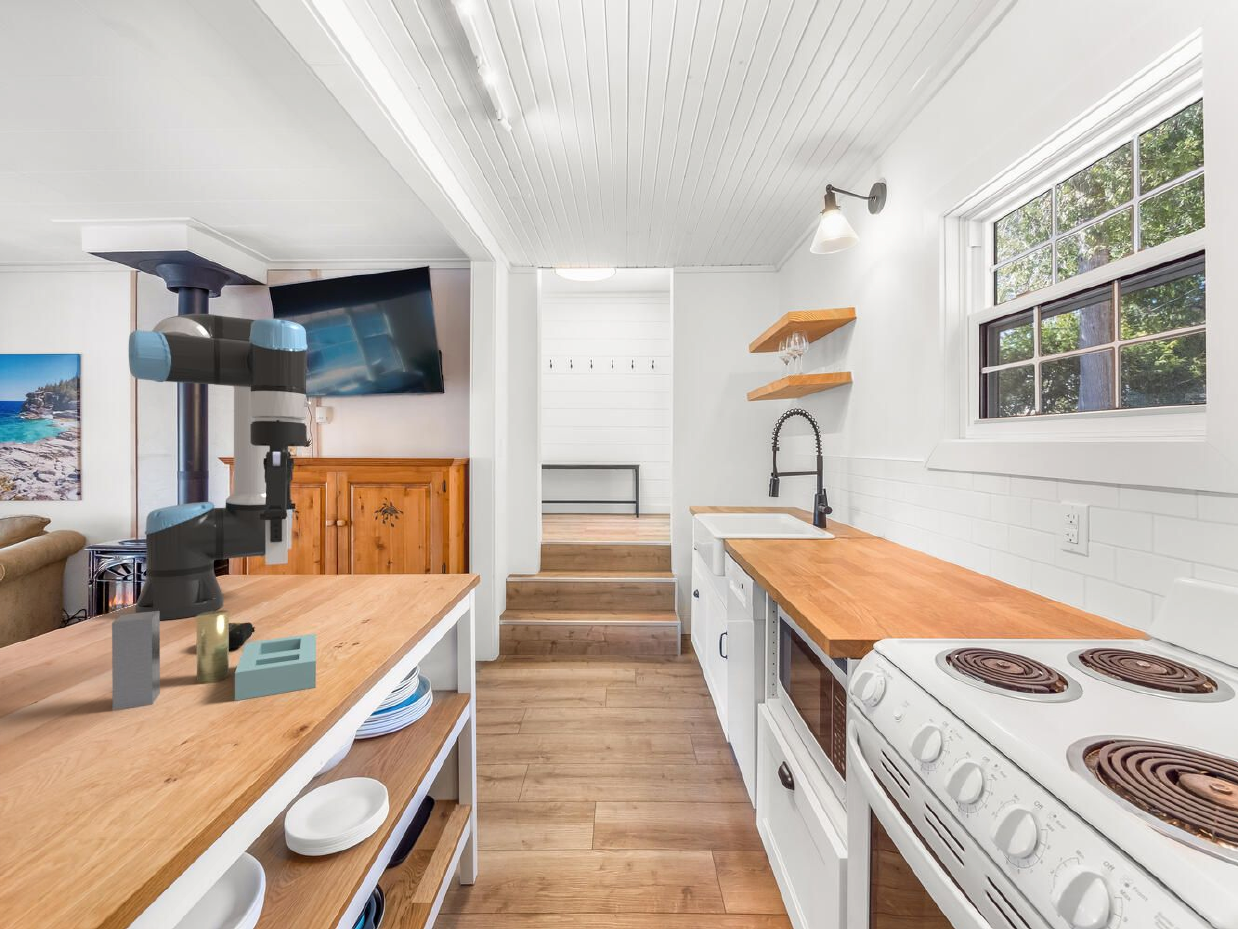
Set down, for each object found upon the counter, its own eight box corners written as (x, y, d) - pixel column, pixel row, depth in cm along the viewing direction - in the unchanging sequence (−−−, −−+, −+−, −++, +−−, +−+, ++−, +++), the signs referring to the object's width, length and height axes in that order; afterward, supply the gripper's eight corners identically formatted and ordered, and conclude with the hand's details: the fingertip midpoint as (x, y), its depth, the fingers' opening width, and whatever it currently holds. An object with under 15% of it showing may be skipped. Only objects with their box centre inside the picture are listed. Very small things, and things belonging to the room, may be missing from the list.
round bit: (199, 675, 87) (199, 612, 87) (230, 671, 89) (230, 609, 89) (194, 685, 83) (194, 619, 83) (226, 680, 85) (226, 615, 85)
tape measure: (242, 652, 98) (242, 631, 98) (196, 656, 96) (196, 634, 96) (255, 639, 104) (255, 619, 104) (212, 643, 102) (212, 622, 102)
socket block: (246, 666, 91) (246, 642, 91) (315, 656, 95) (315, 633, 95) (234, 700, 78) (234, 672, 78) (315, 687, 83) (315, 660, 83)
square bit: (122, 698, 79) (121, 614, 79) (160, 692, 81) (159, 610, 81) (112, 710, 75) (112, 622, 75) (152, 704, 77) (151, 618, 77)
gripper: (305, 417, 78) (305, 568, 78) (307, 425, 100) (307, 542, 100) (240, 415, 74) (241, 573, 75) (258, 423, 96) (258, 545, 97)
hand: (279, 556), depth 87 cm, fingers open, 13 cm apart
